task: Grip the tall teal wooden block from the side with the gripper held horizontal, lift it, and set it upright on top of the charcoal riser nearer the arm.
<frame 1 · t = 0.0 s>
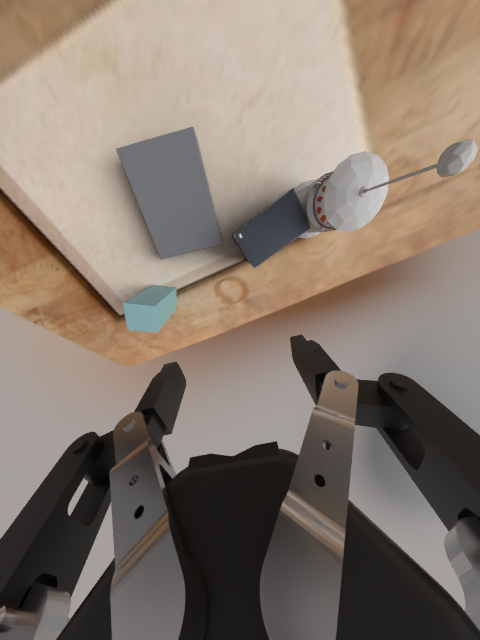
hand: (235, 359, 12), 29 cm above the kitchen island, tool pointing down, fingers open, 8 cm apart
small box: (260, 233, 35), on the kitchen island
charcoal riser: (181, 205, 32), on the kitchen island
teal block: (165, 296, 39), on the kitchen island
french press: (313, 209, 34), on the kitchen island
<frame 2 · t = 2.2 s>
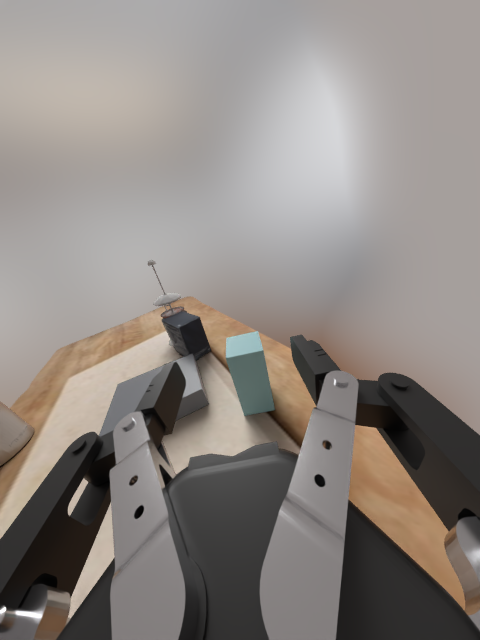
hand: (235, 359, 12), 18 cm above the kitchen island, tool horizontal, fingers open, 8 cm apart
small box: (193, 351, 48), on the kitchen island
charcoal riser: (164, 400, 34), on the kitchen island
teal block: (257, 399, 30), on the kitchen island
french press: (183, 337, 57), on the kitchen island
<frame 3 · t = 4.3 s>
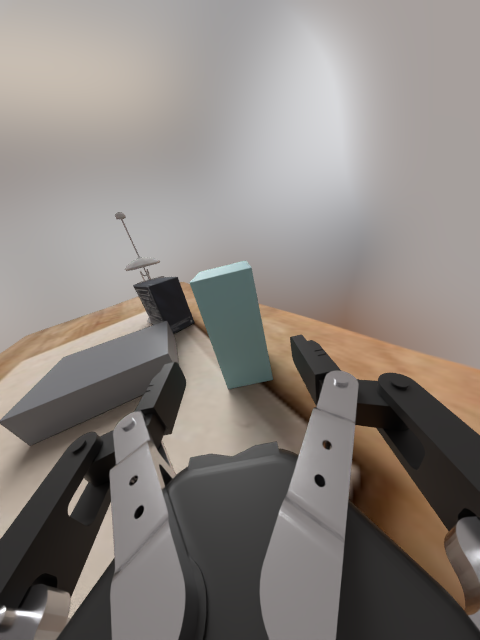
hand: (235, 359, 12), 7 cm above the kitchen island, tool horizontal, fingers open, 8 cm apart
small box: (174, 325, 39), on the kitchen island
charcoal riser: (123, 376, 25), on the kitchen island
teal block: (248, 368, 21), on the kitchen island
french press: (165, 314, 48), on the kitchen island
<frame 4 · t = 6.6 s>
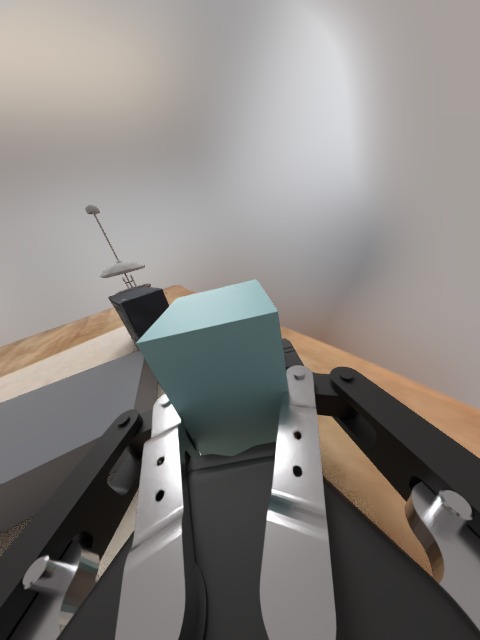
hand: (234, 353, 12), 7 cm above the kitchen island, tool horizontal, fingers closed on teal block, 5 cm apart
small box: (160, 345, 32), on the kitchen island
charcoal riser: (77, 436, 18), on the kitchen island
teal block: (257, 445, 13), on the kitchen island, touching gripper
french press: (153, 328, 41), on the kitchen island
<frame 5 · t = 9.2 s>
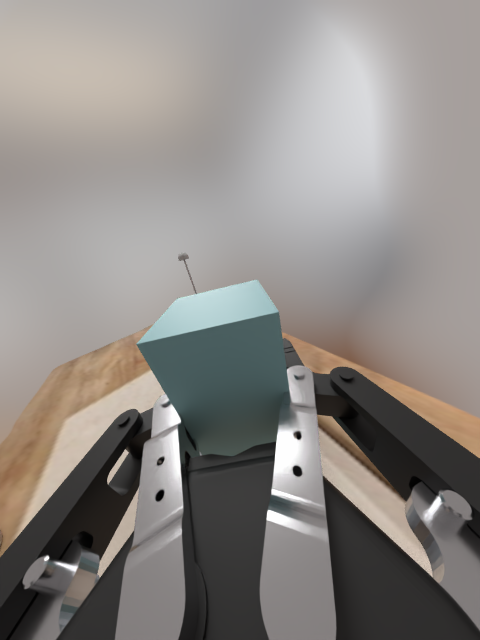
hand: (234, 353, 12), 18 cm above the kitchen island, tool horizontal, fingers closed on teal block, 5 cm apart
teal block: (257, 445, 13), point 11 cm above the kitchen island, touching gripper
when the fingers open (12 cm above the kitchen island, at t = 11.8 s): teal block drops 1 cm, resting on charcoal riser.
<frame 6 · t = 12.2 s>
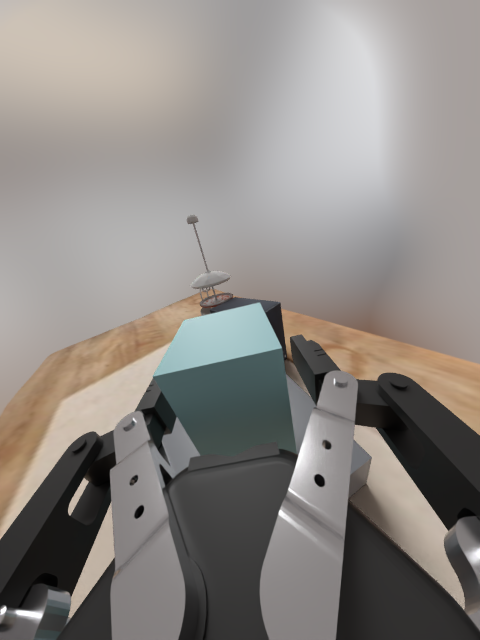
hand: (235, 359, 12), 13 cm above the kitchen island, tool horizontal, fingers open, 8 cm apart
small box: (254, 358, 31), on the kitchen island
charcoal riser: (248, 462, 17), on the kitchen island
teal block: (259, 455, 14), point 4 cm above the kitchen island, touching charcoal riser
french press: (226, 337, 40), on the kitchen island
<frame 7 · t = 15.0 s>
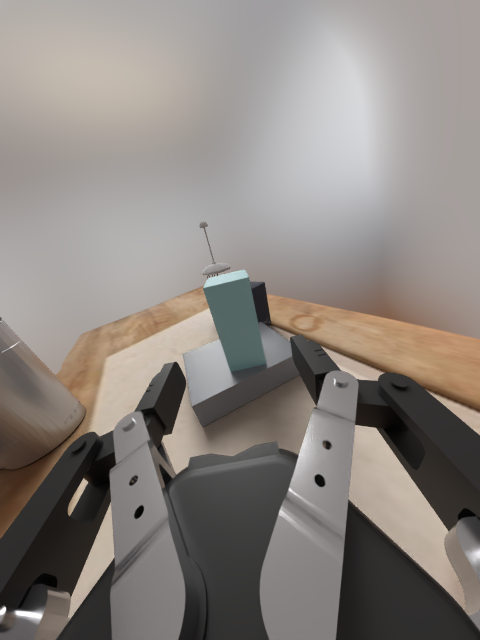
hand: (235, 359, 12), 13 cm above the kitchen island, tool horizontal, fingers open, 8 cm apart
small box: (248, 325, 43), on the kitchen island
charcoal riser: (241, 371, 29), on the kitchen island
teal block: (246, 356, 25), point 4 cm above the kitchen island, touching charcoal riser
french press: (227, 315, 52), on the kitchen island
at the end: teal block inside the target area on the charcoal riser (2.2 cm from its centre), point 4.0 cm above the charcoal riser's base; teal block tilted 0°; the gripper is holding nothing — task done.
